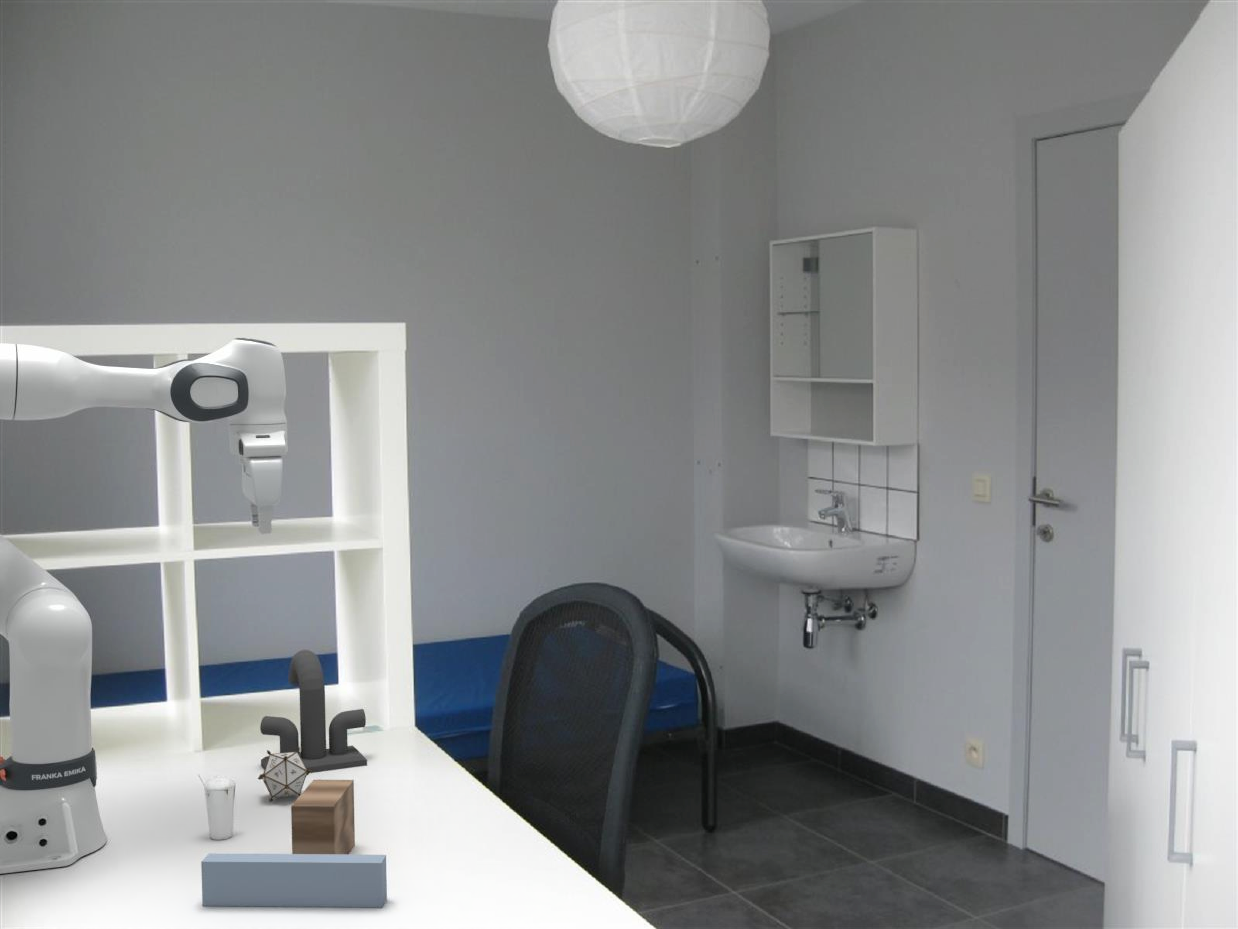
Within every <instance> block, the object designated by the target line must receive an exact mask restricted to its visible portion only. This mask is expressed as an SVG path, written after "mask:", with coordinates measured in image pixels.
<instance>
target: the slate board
mask: <svg viewBox="0 0 1238 929" xmlns="http://www.w3.org/2000/svg"><path fill="white" fill-rule="evenodd" d="M200 862H201V863H200V864H201V865H200V867H201V896H202V898H201V900H202V902H201V903H202V906H203V907H208V906H209V907H287V908H288V907H295V908H297V907H299V908H300V907H305V908H307V907H308V908H309V907H310V908H314V907H315V908H317V907H318V908H323V907H324V908H383V906H384V905H385V903H386V901H387V899H388V887H387V886H388V885H387V884H388V883H387V881H388V880H387V855H386V854H354V853H353V854H350V853H349V854H292V853H219V852H218V853H216V852H215V853H210V852H209V853H208V854H207V855H206V856H205V857H204V858H203V859H202V860H201V861H200Z"/></svg>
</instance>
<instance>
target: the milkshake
mask: <svg viewBox="0 0 1238 929" xmlns="http://www.w3.org/2000/svg"><path fill="white" fill-rule="evenodd" d="M198 777H199V779H200V781H201V783H202V785H203V787H204V796H205V802H206V803H205V804H206V810H207V811H206V812H207V822H208V829H209V830H208V832H209V838H210V839H212V840H214V841H215V840H216V841H222V840H227V839H230V838H231V837H232V836H233V833H234V831H233V829H234V812H235V810H234V809H235V794H236V793H235V792H236V782H235V780H234V779H233V778H232V777H229V776H227V775H215V776H214V777H213V778H209V779H208V780H207V781H206V782H205V783H204V782H203V780H202V778H201V775H200V774H199V773H198Z"/></svg>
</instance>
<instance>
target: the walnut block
mask: <svg viewBox="0 0 1238 929" xmlns="http://www.w3.org/2000/svg"><path fill="white" fill-rule="evenodd" d="M354 781H355V780H354V779H313V780H312V781H311V782H310V783H309V784H308V786H307V787H306V788H305V789H304V790H303V792H302V793H300V794H301V795H300V796H299V795H298V797H297V799H295V801H294V802H293V803H292V804H291V806H290V811H291V812H290V814H291V816H290V817H291V818H290V820H291V854H350V853H351V852H352V850H353V849H354V848H355V844H356V836H355V835H356V834H355V832H356V831H355V788H354V786H355V784H354Z"/></svg>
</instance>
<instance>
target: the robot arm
mask: <svg viewBox="0 0 1238 929" xmlns="http://www.w3.org/2000/svg"><path fill="white" fill-rule="evenodd" d="M286 398H287V383H286V371H285V365H284V358H283V355H282V352H281V350H280V348H278V347H277V346H276V345H275V344H274V343H271V342H268V341H265V340H260V339H254V338H246V337H236V338H233V339H231V340H230V341H229V343H227V344H225V345H224V346H222V347H221V348H218V349H217V350H215V351H214V352H213V351H212V352H210V353H209V354H207V355H204V356H202V357H199V358H197V359H188V358H186V359H179V360H175V361H172V362H170V363H167V364H164V365H162V366H159V367H154V368H153V367H152V368H140V367H124V366H123V367H122V366H121V367H120V366H107V365H106V366H105V365H101V364H100V365H99V364H94V363H91V362H88V361H84V360H82V359H80V358H77V357H75V356H74V355H72V354H70V353H68V352H65V351H61V350H58V349H55V348H48V347H44V346H39V345H35V344H34V345H33V344H23V343H10V342H9V343H8V342H0V420H7V421H12V420H13V421H39V420H41V421H42V420H51V419H56V418H57V419H58V418H64V417H67V416H69V415H71V414H73V413H75V412H78V411H82V410H85V409H89V408H90V409H91V408H99V407H100V408H103V407H105V408H107V407H108V408H130V409H131V408H132V409H146V410H152V411H156V412H159V413H161V414H162V415H165V416H167V417H168V418H171V419H173V420H175V421H178V422H183V423H195V424H196V423H197V424H208V423H211V422H214V421H217V420H220V419H221V420H222V419H225V418H226V419H227V420H228V434H229V435H228V436H229V438H228V439H229V453H230V454H231V455H236V456H238V465H241V487H242V488H241V490H242V494H243V496H244V497H245V498H247V500H249V510H250V515H251V516H250V517H251V525H252V526H253V527H255V528H258V532H259V534H262V535H267V534H271V532H272V531H273V530H272V521H273V514H274V513H273V511H274V507H275V506H279V505H280V501H281V497H282V484H283V465H284V464H283V461H284V459H283V457H286V455H287V453H288V451H289V448H288V446H289V445H288V441H289V440H288V420H287V416H286V413H285V402H286ZM0 635H1V636H3V637H4V638H5V640H6V641H7V642H8V647H9V650H8V651H9V703H8V704H9V722H10V727H9V728H10V746H11V747H10V748H11V750H10V752H11V755H10V756H9V757H8V758H6V759H5V758H4V757H2V756H0V875H1V874H9V873H19V872H25V871H34V870H43V869H45V870H46V869H51V868H52V869H53V868H60V867H67V866H70V865H72V864H74V863H75V862H77V861H78V860H79V859H80V858H82V857H84V856H86V855H88V854H91V853H93V852H95V851H97V850H99V849H101V848H102V847H104V845H105V844H106V843H107V841H108V837H107V834H106V832H105V829H104V826H103V823H102V819H101V815H100V810H99V805H98V800H97V794H96V786H97V780H98V766H97V761H98V760H97V755H96V751H95V749H94V747H93V743H92V742H93V739H92V736H93V735H92V711H91V693H92V692H91V688H92V671H93V670H92V667H93V663H92V661H93V625H92V620H91V618H90V615H89V612H88V610H86V608H85V607H84V605H83V604H82V603H81V601H80V600H79V599H78V597H77V596H76V594H74V592H73V591H71V589H69V588H68V587H67V586H65V584H63V583H62V582H60V580H58V579H57V578H56V577H54V576H53V575H52V574H50V573H49V571H47V570H46V569H44V568H43V567H42V566H40V565H39V564H38V563H37V562H36V561H34V560H33V559H31V557H29V556H28V555H27V554H26V553H24V552H23V551H21V549H19V548H17V547H16V546H15V544H12V542H11V541H9V540H8V539H7V538H5V536H3V535H2V534H1V533H0Z"/></svg>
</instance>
